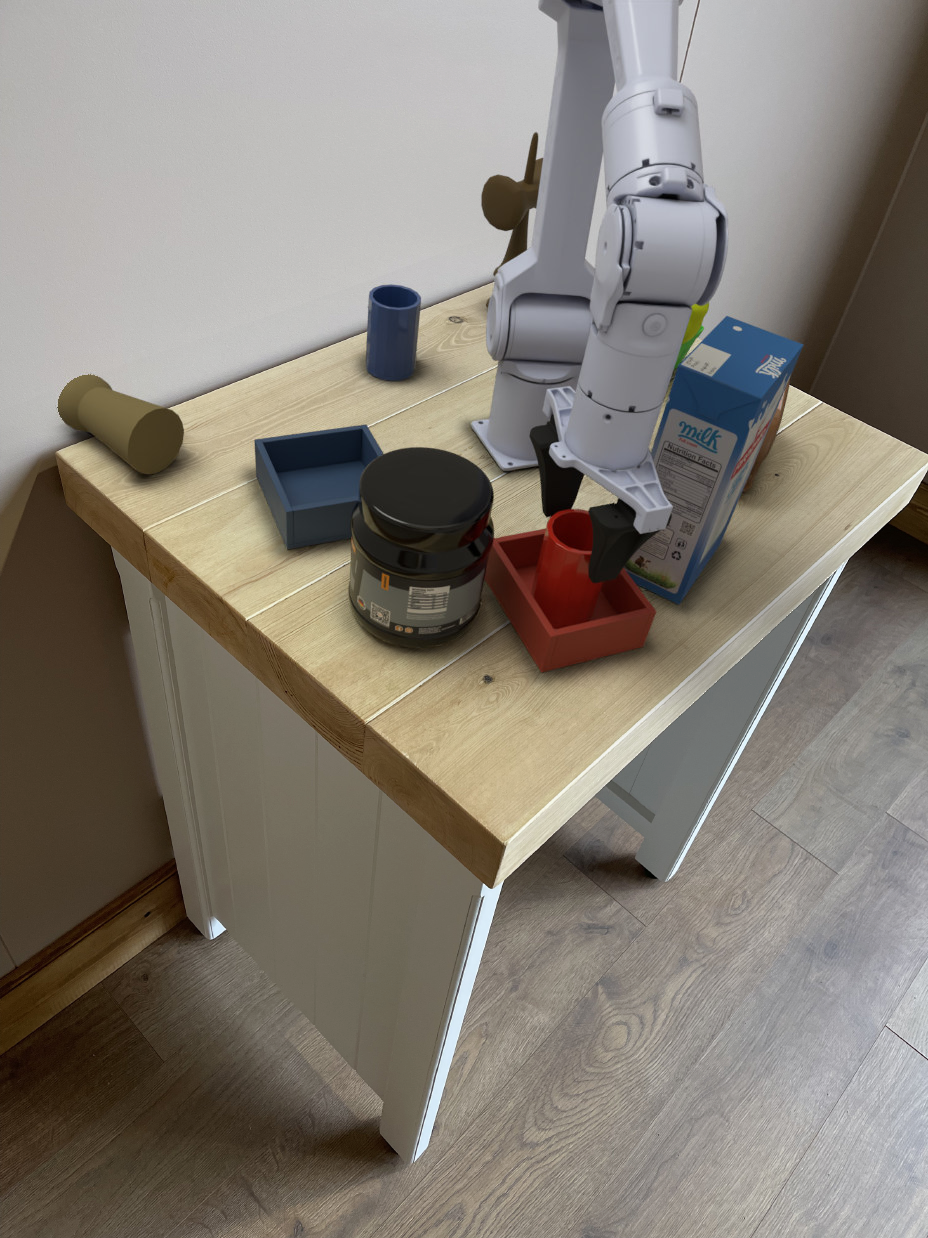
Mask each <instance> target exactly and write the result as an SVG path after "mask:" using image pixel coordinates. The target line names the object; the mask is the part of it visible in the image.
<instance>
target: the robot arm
mask: <svg viewBox="0 0 928 1238" xmlns="http://www.w3.org/2000/svg"><path fill="white" fill-rule="evenodd" d="M683 3H684V0H538V3H537V8H538V10H539V11H541V13H543V14H545V15H546V16H548V17H549V18H550V19H552V20H553V21H555V23H556V33H557V35H556V36H557V56H556V63H555V68H554V69H555V70H554V76H553V84H552V92H551V99H550V107H549V113H548V120H547V128H546V135H545V142H544V143H545V144H544V149H543V157H542V158H543V164H542V171H541V178H540V186H539V193H538V200H537V208H536V209H535V215H534V216H535V217H534V223H533V230H532V231H533V232H532V238H531V245H530V247H529V248H527V250H526V251H525V252H523V253H522V254H520V255H518V256H517V257H515V258H514V259H512V260H510V261H509V262H507V263H505V264H504V265H502V266H501V267H500V268H499V269H498V273H497V274H496V275H495V276H494V280H493V281H494V282H493V287H492V292H491V295H490V296H489V298H490V301H489V306H488V308H487V314H486V325H485V342H486V344H485V345H486V350H487V353H488V354H489V356H490V357H491V359H492V360H493V361H494V362H497V367H496V373H495V378H494V385H493V390H492V398H491V404H490V410H489V416H488V418H485V419H477V420H473V421H471V422H470V427H471V429H472V430H473V432H474V433H475V434H476V436H477V437H478V439H479V440H480V442H481V443H482V444H483V446H484V448H485V449H486V451H487V452H488V453H489V454H490V456H491V457H492V459H493V460H494V462H495V463H496V464H497V466H498V467H499V469H500V470H501V471H504V472H509V471H515V470H516V471H517V470H521V469H528V468H532V467H538V472H539V479H540V495H541V508H542V514H543V515H544V516H545V517H546V518H550V517H551V516H553V515H554V514H556V513H557V512H559V511H563V510H567V509H573V507H574V505H575V503H576V500H577V497H578V495H579V491H580V488H581V485H582V483H583V479H584V477H585V476H586V477H587V478H588V479H590V480H592V481H593V482H595V483H596V484H597V485H599V486H601V487H602V488H604V489H605V490H606V491H608V492H609V493H611V494H612V495H613V496H615V497H617V500H616V503H615V502H611V503H606V504H601V505H600V504H599V505H595V506H590V507H589V509H588V511H589V515H590V519H591V522H592V529H593V546H592V552H591V557H590V562H589V568H588V574H589V578H590V580H591V581H592V583H599V582H603V581H608V580H613V579H616V577H617V576H618V575H619V573H620V572H621V570H622V569H623V567H624V566H625V565H626V563H627V562H628V561H629V559H630V558H631V557H632V556H633V554H634V553H635V552H636V551H637V550H638V549H639V548H640V547H641V546H642V545H643V544H644V543H645V542H646V541H647V540H649V539H650V538H651V537H652V536H654V535H655V534H656V533H658V532H659V531H661V530H662V529H665V528H666V527H667V526H668V525H669V524H670V521H671V518H672V514H671V511H672V508H673V506H672V505H671V504H670V502H669V501H668V500H667V498H666V496H665V495H664V492H663V490H662V487H661V484H660V481H659V478H658V475H657V472H656V468H655V465H654V462H653V459H652V456H651V450H650V445H651V442H652V438H653V436H654V432H655V429H656V426H657V423H658V420H659V417H660V414H661V410H662V407H663V404H664V402H665V398H666V395H667V391H668V389H669V385H670V381H671V379H672V376H673V373H674V371H675V369H674V366H675V363H676V360H677V357H678V354H679V351H680V347H681V344H682V341H683V338H684V335H685V331H686V328H687V325H688V322H689V319H690V316H691V312H692V307H691V306H692V305H694V304H697V305H699V306H703V305H705V304H707V303H708V302H709V303H710V301H711V300H712V299H713V297H714V295H715V294H716V292H717V290H718V288H719V286H720V283H721V281H722V277H723V275H724V271H725V267H726V262H727V258H728V249H729V215H728V211H727V208H726V206H725V204H724V203H723V202H722V201H721V200H720V199H718V197H717V194H716V193H717V192H716V188H715V187H714V186H713V185H708V184H707V183H705V178H704V177H705V176H704V166H703V154H702V142H701V129H700V121H699V107H698V101H697V98H696V96H695V94H694V93H693V91H692V90H691V89H690V88H689V87H688V86H686V85H685V84H683V83H681V82H680V81H678V63H679V61H678V60H679V59H678V58H679V57H678V56H679V9H680V6H681V5H682V4H683ZM615 88H616V93H615V94H614V91H615ZM602 161H603V169H604V170H603V171H604V189H605V203H606V204H605V205H606V206H605V208H606V210H605V212H604V215H603V217H602V220H601V223H600V226H599V229H598V234H597V240H596V247H595V248H596V249H595V260H594V266H593V265H592V264H591V263H590V262H589V261H588V260H587V259H586V256H587V255H586V254H587V249H588V244H589V237H590V232H591V227H592V220H593V214H594V208H595V202H596V197H597V191H598V185H599V179H600V175H601V174H600V173H601V169H602Z"/></svg>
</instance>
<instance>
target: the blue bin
mask: <svg viewBox="0 0 928 1238" xmlns="http://www.w3.org/2000/svg"><path fill="white" fill-rule="evenodd" d="M253 443H254V460H255V477H256V479H257V481H258V485H259V486H260V489H261V491H262V493H263V496H264V498H265V501H266V503H267V505H268V508H269V510H270V513H271V515H272V517H273V519H274V522H275V524H276V527H277V530H278V531H279V534H280V536H281V539H282V541H283V544H284V546H285V549H286V550H292V549H293V550H294V549H297V548H298V549H299V548H305V547H309V546H315V545H319V544H320V545H321V544H325V543H331V542H337V541H342V540H349V539H351V531H350V519H351V514H352V511H353V508H354V506H355V504H356V503H357V501H358V497H359V481H360V477H361V474H362V472H363V471H364V469H365V468H366V466H367V465H368V464H369V463H370V462H372V461H373V460H374V459H376V458H377V457H379V456H381V455H383V454H384V452H383V450H382V449H381V447H380V445H379V443H378V442H377V440H376V438H375V436H374V435H373V433H372V432H371V430H370V428H369V426H368V424H367V423H366V424H359V425H357V424H356V425H352V426H351V425H350V426H343V427H336V428H328V429H322V430H321V429H320V430H314V431H307V432H299V433H292V434H285V435H279V436H278V435H276V436H270V437H269V436H268V437H263V438H255V439H254V440H253Z"/></svg>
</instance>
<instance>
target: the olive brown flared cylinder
mask: <svg viewBox="0 0 928 1238" xmlns="http://www.w3.org/2000/svg"><path fill="white" fill-rule="evenodd" d="M91 374H92V373H90V375H89V374H88V375H82V376H79V377H77V378H74V379H73V380H71V381H70V382H69V383H67V385H66V386H65V387H64V389H63V390H62V392H61V394H60V396H59V399H58V407H57V408H58V412H59V415H60V416H59V415H58V416H59V417H60V419H61V418H62V419H61V421H62V422H63V423H64V424H65V425H67V426H69V427H70V428H72V429H73V430H75V431H80V432H84V433H90V434H91V435H93V436H94V437H95V438H96V439H98V440H99V441H100V442H101V443H102V444H104V445H105V446H106V447H107V448H109V449H110V450H111V451H112V452H113V453H114V454H116V455H117V456H118V457H119V458H121V459H122V460H123V461H125V462H126V464H128V465H130V466H131V467H132V468H133V469H134V470H135V471H137V472H138V473H140V474H143V475H154V474H158V473H160V472H162V471H164V470H165V469H167V468H168V467H169V466H170V465H171V464H172V463H173V462H174V461H175V460H176V458H177V456H178V455H179V453H180V451H181V448H182V446H183V442H184V435H185V430H184V424H183V421H182V419H181V417H180V415H179V414H178V413H176V411H174V410H173V409H171V408H167V407H164V406H161V405H158V404H156V403H152V402H150V401H146V400H143V399H140V398H137V397H135V396H131V395H128V394H125V393H122V392H120V391H116V390H113V388H112V386H111V385H110V384H109V382H107V381H106V380H105V379H103V378H102V377H100V376H99V377H98V375H97V376H95V375H96V374H93V375H91ZM57 408H56V409H57ZM58 412H57V413H58Z"/></svg>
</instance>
